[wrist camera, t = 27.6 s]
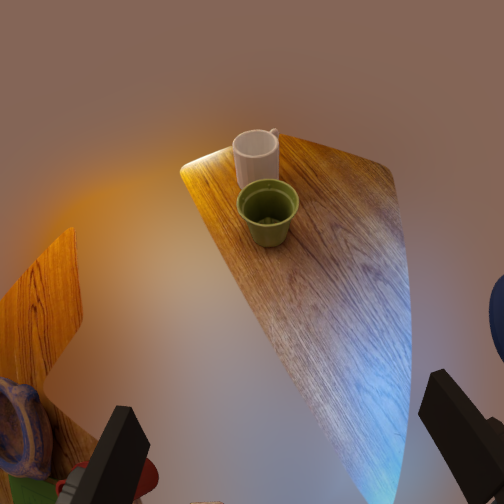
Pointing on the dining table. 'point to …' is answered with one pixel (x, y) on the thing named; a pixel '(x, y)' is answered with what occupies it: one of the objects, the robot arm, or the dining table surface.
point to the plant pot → (268, 210)
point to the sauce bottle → (144, 486)
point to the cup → (207, 503)
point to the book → (33, 490)
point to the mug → (256, 156)
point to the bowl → (24, 432)
